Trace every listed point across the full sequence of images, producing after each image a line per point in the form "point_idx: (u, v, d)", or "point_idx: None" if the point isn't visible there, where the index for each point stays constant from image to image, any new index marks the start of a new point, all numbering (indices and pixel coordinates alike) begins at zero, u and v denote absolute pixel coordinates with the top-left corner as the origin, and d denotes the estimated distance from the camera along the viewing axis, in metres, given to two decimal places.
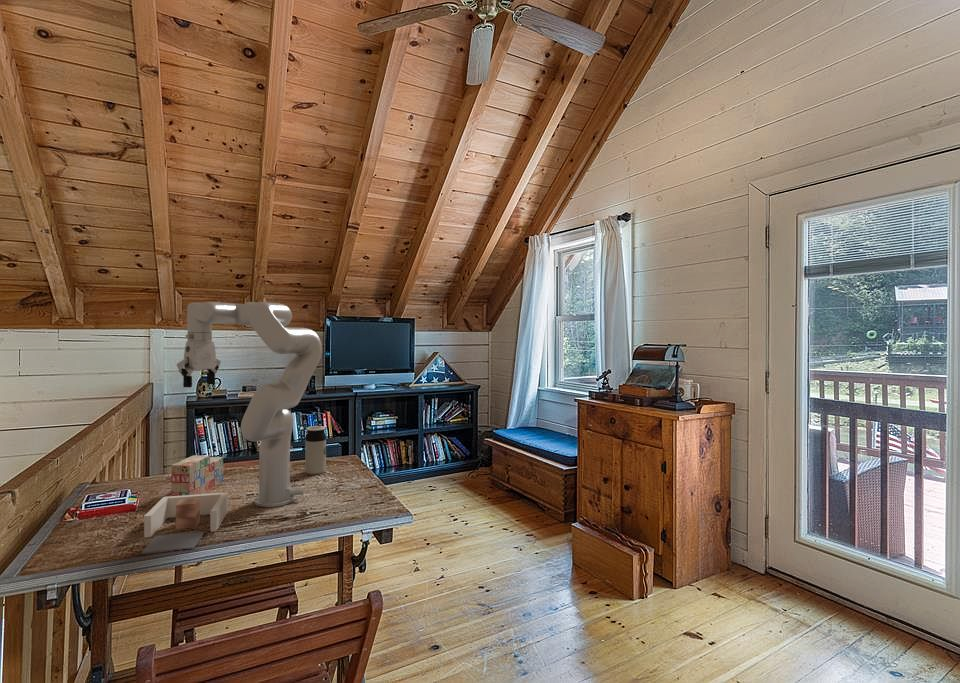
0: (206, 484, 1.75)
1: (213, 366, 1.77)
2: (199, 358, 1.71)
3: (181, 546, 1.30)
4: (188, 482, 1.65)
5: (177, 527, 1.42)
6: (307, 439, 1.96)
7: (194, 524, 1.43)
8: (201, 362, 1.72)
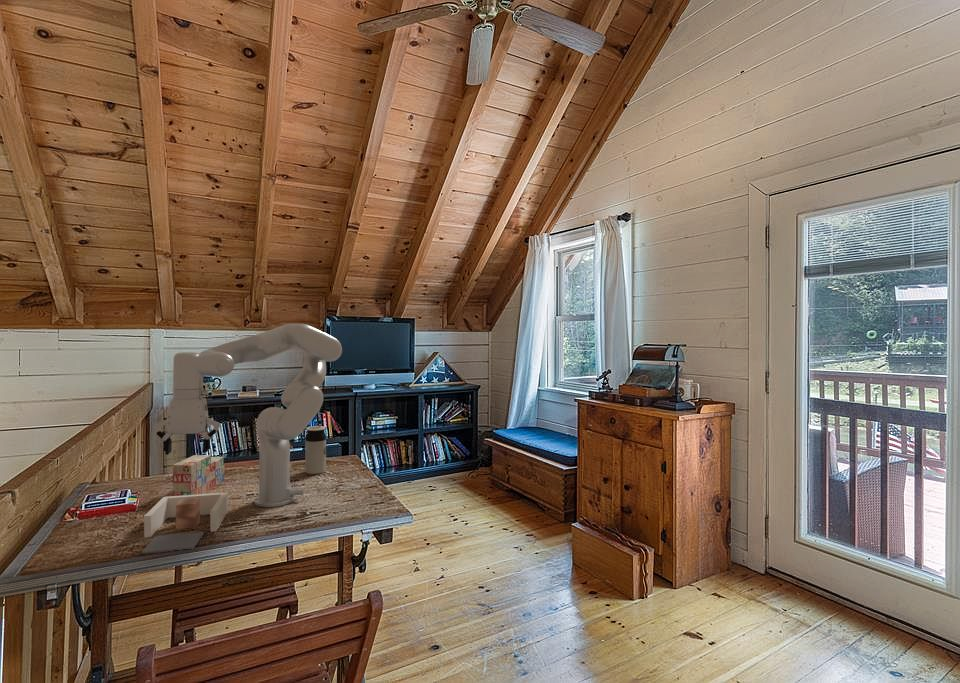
0: (207, 484, 1.75)
1: None
2: None
3: (181, 546, 1.30)
4: (190, 482, 1.65)
5: (177, 527, 1.42)
6: (307, 439, 1.96)
7: (194, 524, 1.43)
8: None
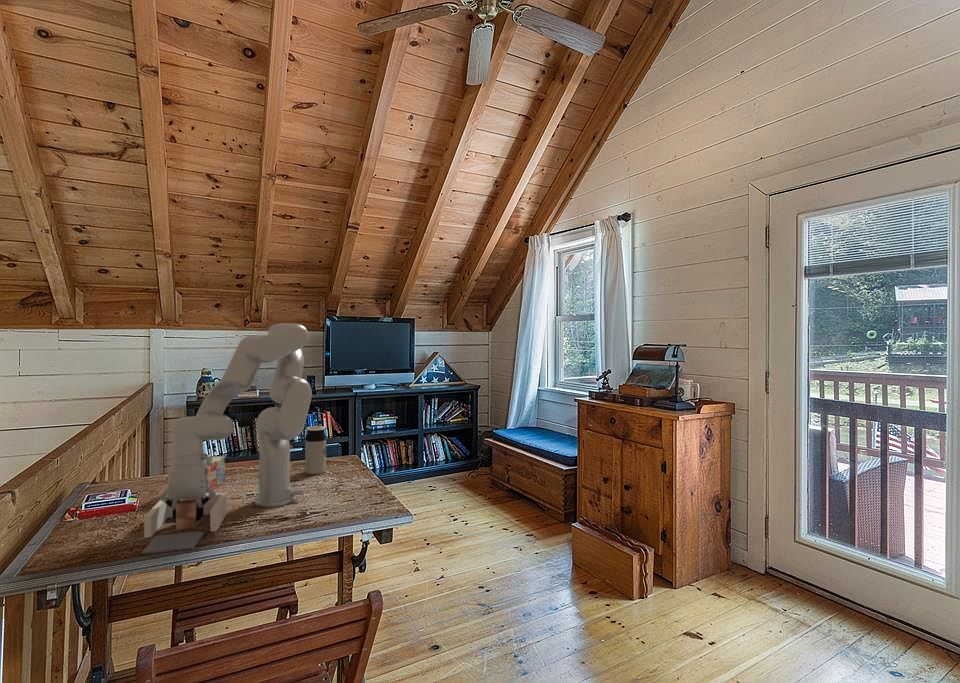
0: None
1: None
2: None
3: (181, 546, 1.30)
4: None
5: (177, 527, 1.42)
6: (307, 439, 1.96)
7: (194, 524, 1.43)
8: None
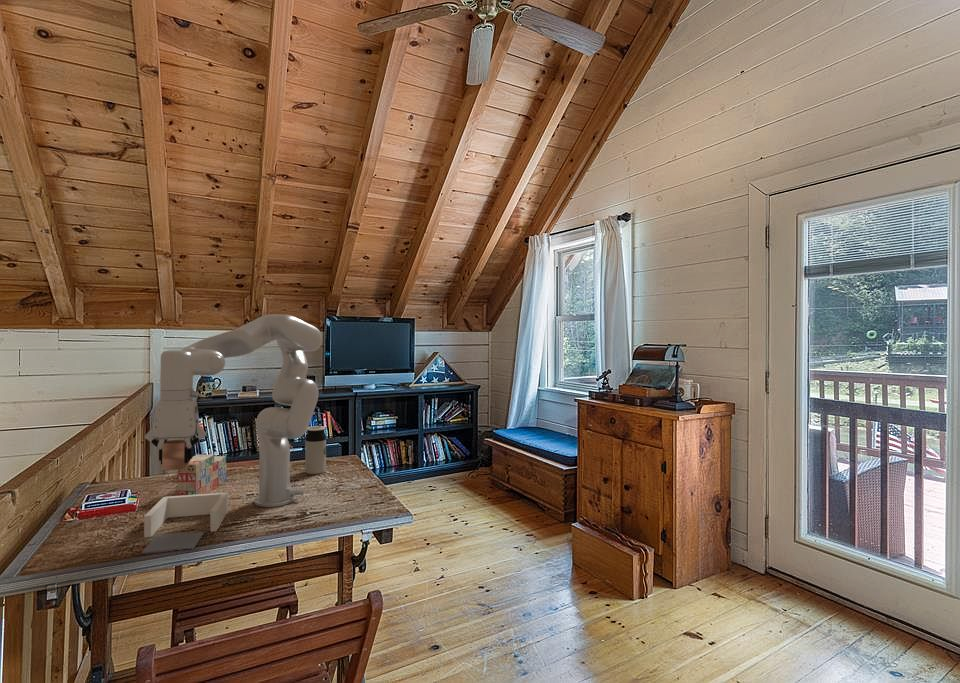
0: (211, 483, 1.76)
1: None
2: None
3: (181, 546, 1.30)
4: (194, 481, 1.66)
5: (163, 468, 1.31)
6: (307, 439, 1.96)
7: (182, 466, 1.32)
8: None
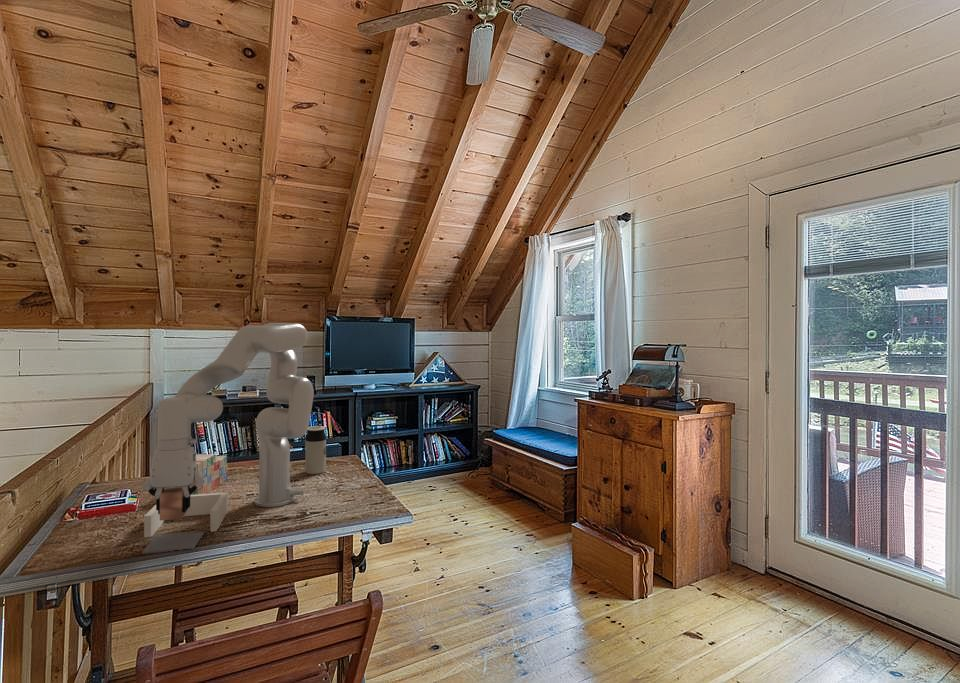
0: (212, 482, 1.77)
1: None
2: None
3: (181, 546, 1.30)
4: None
5: (161, 518, 1.29)
6: (307, 439, 1.96)
7: (180, 515, 1.30)
8: None
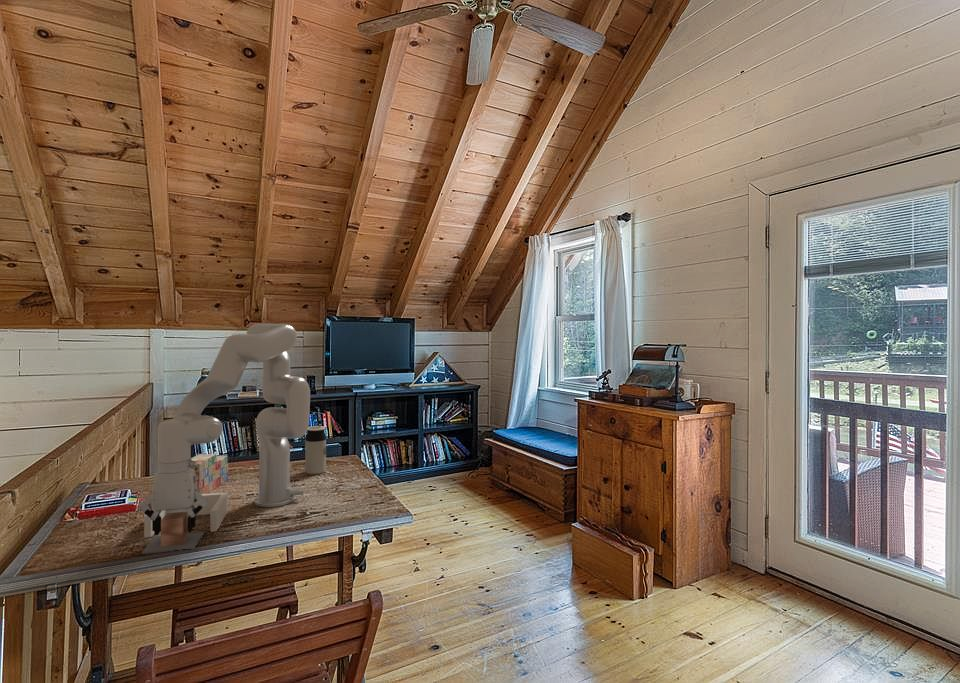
0: (213, 482, 1.77)
1: None
2: None
3: (181, 546, 1.30)
4: (198, 480, 1.67)
5: (162, 544, 1.30)
6: (307, 439, 1.96)
7: (181, 541, 1.31)
8: None
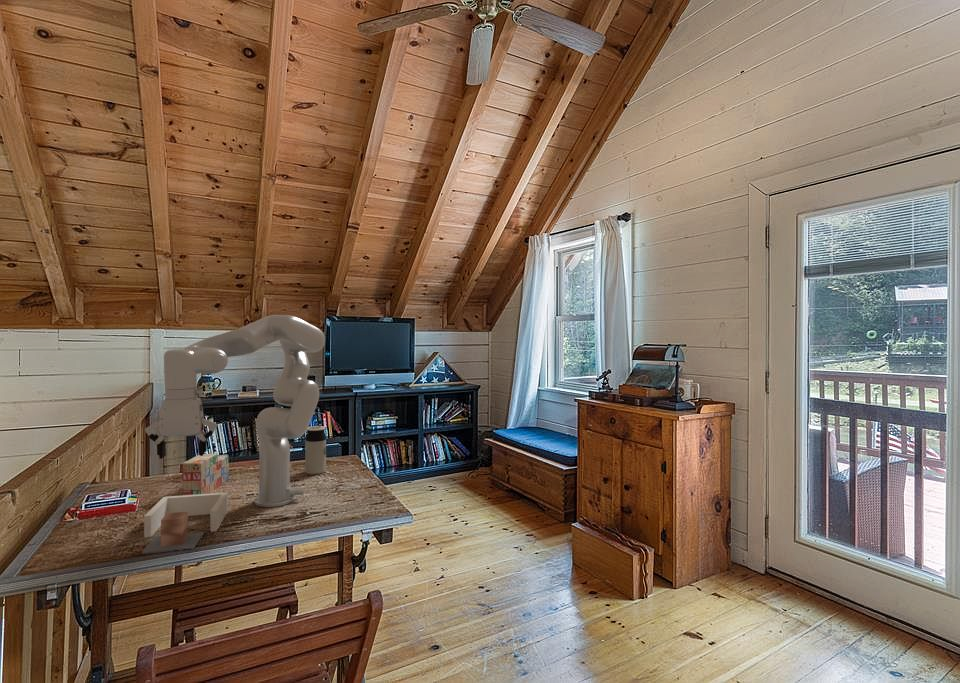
0: (214, 482, 1.77)
1: None
2: None
3: (181, 546, 1.30)
4: (199, 480, 1.67)
5: (162, 544, 1.30)
6: (307, 439, 1.96)
7: (181, 541, 1.31)
8: None
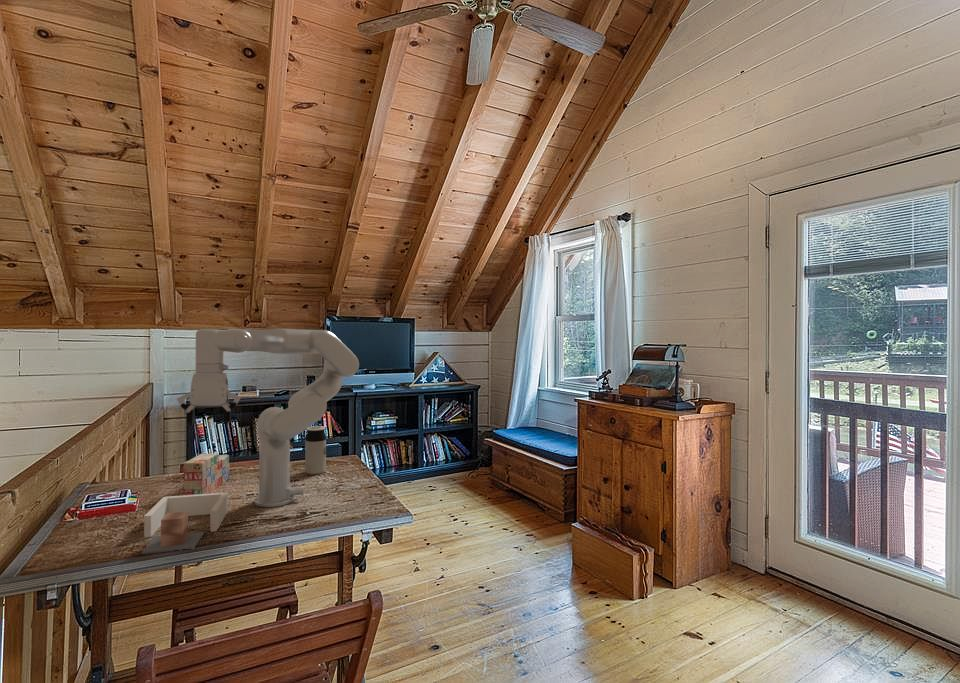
0: (215, 481, 1.78)
1: None
2: None
3: (181, 546, 1.30)
4: (201, 479, 1.68)
5: (162, 544, 1.30)
6: (307, 439, 1.96)
7: (181, 541, 1.31)
8: None
